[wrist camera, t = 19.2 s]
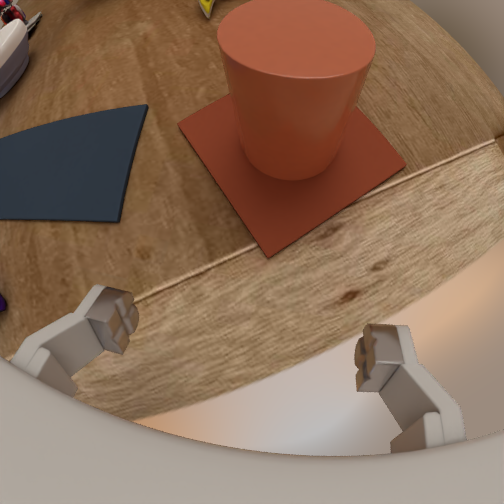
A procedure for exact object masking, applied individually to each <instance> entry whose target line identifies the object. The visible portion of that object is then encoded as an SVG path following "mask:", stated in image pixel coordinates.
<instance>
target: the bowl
mask: <svg viewBox="0 0 504 504" xmlns="http://www.w3.org/2000/svg"><path fill="white" fill-rule="evenodd" d="M28 50H29V43H28V32H27V27H26V26H25V24H24V23H23V22H22V21H21V20H20V19H15V20H13V21H12V22H10V23H8V24H7V25H6V26H4V27H3V28H2V29H1V30H0V98H1V97H3V96H4V95H5V94H6V93H7V92H8V91H9V90H10V89H11V88H12V87H13V86H14V84H15V83H16V82H17V81H18V79H19V78H20V77H21V75H22V74H23V72H24V70H25V68H26V66H27V64H28V61H29V56H28V54H27V53H28Z"/></svg>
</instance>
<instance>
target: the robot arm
mask: <svg viewBox="0 0 504 504" xmlns="http://www.w3.org/2000/svg"><path fill="white" fill-rule="evenodd" d="M133 301H134V297H133V295H132V293H131V292H128V291H124V290H120V289H115V288H111V287H107V286H102V285H98V284H97V285H95V286H93V287H92V289H91V290H90V291H89V293H88V294H87V295H86V297H85V298H84V299H83V301H82V302H81V304H80V305H79V306H78V308H77V309H76V311H75V312H74V313H69V314H67V315H66V316H64V317H62V318H60V319H58V320H57V321H55V322H53V323H51V324H49V325H48V326H46V327H44V328H42V329H41V330H39V331H37V332H35V333H33V334H32V335H30V336H28V337H26V338H25V340H24V341H23V343H22V344H21V346H20V347H19V349H18V350H17V352H16V353H15V355H14V357H13V358H12V360H11V361H10V362H9V361H7V360H6V359H4V358H3V357H1V356H0V504H504V429H503V430H501V431H497V432H494V433H492V434H488V435H485V436H481V437H478V438H474V439H470V440H467V439H466V433H465V427H464V422H463V416H462V411H461V407H460V406H459V405H458V404H457V402H456V401H455V400H454V399H453V398H452V397H451V396H450V395H449V394H448V392H447V391H446V390H445V389H444V388H443V387H442V386H441V384H440V383H439V382H438V381H437V380H436V379H435V378H434V377H433V375H432V374H431V373H430V372H429V371H428V370H427V369H426V368H425V367H424V366H423V365H422V364H418V359H417V355H416V351H415V347H414V344H413V340H412V336H411V332H410V329H409V327H408V326H406V325H387V324H367V325H366V326H365V327H364V329H363V337H361V338H360V339H359V340H358V342H357V344H356V349H355V365H356V366H357V368H358V369H359V371H358V372H357V374H356V385H357V386H356V387H357V392H379V395H380V396H381V398H382V399H383V401H384V402H385V404H386V405H387V407H388V408H389V410H390V412H391V413H392V415H393V416H394V418H395V420H396V421H397V423H398V424H399V426H400V428H401V429H402V431H403V432H402V433H401V434H399V435H398V436H397V437H396V438H394V439H393V440H392V441H391V442H390V444H391V454H380V455H363V456H306V455H290V454H278V453H268V452H260V451H252V450H245V449H238V448H232V447H227V446H221V445H216V444H211V443H206V442H202V441H197V440H193V439H189V438H185V437H181V436H177V435H173V434H169V433H166V432H163V431H159V430H156V429H153V428H150V427H146V426H143V425H140V424H137V423H134V422H132V421H129V420H126V419H123V418H120V417H118V416H115V415H113V414H110V413H107V412H105V411H102V410H100V409H98V408H95V407H93V406H91V405H88V404H86V403H84V402H82V401H79V400H77V399H75V398H73V397H74V395H75V393H76V391H77V389H78V388H77V385H76V384H75V383H74V381H73V380H72V379H71V378H70V377H71V376H73V375H74V374H75V373H76V372H78V371H79V370H80V369H82V368H83V367H84V366H85V365H87V364H88V363H89V362H91V361H92V360H93V359H94V358H96V357H97V356H98V355H100V354H101V353H102V352H103V351H104V350H107V351H111V352H114V353H118V354H122V355H123V353H124V351H125V350H126V348H127V346H128V344H129V342H130V340H129V335H131V334H132V333H134V332H135V330H136V328H137V326H138V321H139V312H138V309H137V307H136V306H135V305H134V304H133Z"/></svg>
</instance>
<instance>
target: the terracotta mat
mask: <svg viewBox="0 0 504 504" xmlns="http://www.w3.org/2000/svg"><path fill="white" fill-rule="evenodd" d="M177 125H178V126H179V128H180V129H181V131H182V132H183V134H184V135H185V137H186V138H187V140H188V141H189V142H190V144H191V145H192V147H193V148H194V150H195V151H196V153H197V154H198V156H199V157H200V159H201V160H202V162H203V163H204V164H205V166H206V167H207V169H208V170H209V172H210V173H211V175H212V176H213V178H214V179H215V181H216V182H217V184H218V185H219V187H220V188H221V190H222V191H223V193H224V194H225V195H226V197H227V198H228V200H229V201H230V203H231V204H232V206H233V207H234V209H235V210H236V212H237V213H238V215H239V216H240V218H241V219H242V221H243V222H244V224H245V225H246V227H247V228H248V230H249V231H250V233H251V234H252V236H253V237H254V239H255V240H256V242H257V243H258V245H259V246H260V248H261V249H262V251H263V252H264V254H265V255H266V257H267V258H270V257H271V256H273V255H274V254H276V253H278V252H279V251H281V250H282V249H284V248H285V247H287V246H288V245H290V244H291V243H293V242H294V241H296V240H297V239H299V238H300V237H302V236H303V235H305V234H306V233H308V232H309V231H311V230H312V229H314V228H315V227H317V226H318V225H320V224H321V223H323V222H324V221H326V220H327V219H329V218H330V217H332V216H333V215H335V214H336V213H338V212H339V211H341V210H342V209H344V208H345V207H347V206H348V205H350V204H351V203H353V202H354V201H356V200H357V199H358V198H360V197H361V196H363V195H364V194H366V193H367V192H369V191H370V190H372V189H373V188H375V187H376V186H378V185H379V184H381V183H382V182H383V181H385V180H386V179H388V178H389V177H391V176H392V175H394V174H395V173H397V172H398V171H400V170H401V169H402V168H404V167H405V166H406V165H407V164H406V163H405V162H404V160H403V159H402V158H401V157H400V155H399V154H398V153H397V152H396V150H395V149H394V148H393V147H392V145H391V144H390V143H389V142H388V141H387V139H386V138H385V137H384V136H383V135H382V134H381V133H380V131H379V130H378V129H377V128H376V127H375V126H374V125H373V124H372V122H371V121H370V120H369V119H368V118H367V117H366V116H365V115H364V114H363V113H362V112H361V111H360V110H359V109H358V107H357V106H356V107H355V110H354V112H353V115H352V117H351V120H350V122H349V125H348V128H347V130H346V133H345V135H344V138H343V140H342V143H341V145H340V148H339V150H338V153H337V155H336V157H335V159H334V161H333V162H332V163H331V165H330V166H329V167H328V168H327V169H326V170H324V171H323V172H321V173H320V174H318V175H316V176H314V177H311V178H308V179H303V180H295V181H294V180H282V179H277V178H274V177H271V176H269V175H266V174H264V173H263V172H261V171H259V170H258V169H257V168H255V167H254V166H253V165H252V164H251V163H250V162H249V160H248V159H247V158H246V156H245V154H244V152H243V150H242V147H241V143H240V138H239V133H238V129H237V124H236V120H235V115H234V111H233V106H232V102H231V97H230V94H228V95H226V96H224V97H222V98H221V99H219V100H217V101H215V102H213V103H211V104H210V105H208V106H206V107H204V108H203V109H201V110H199V111H197V112H196V113H194V114H192V115H190V116H189V117H187V118H185V119H184V120H182V121H181V122H179V123H177Z"/></svg>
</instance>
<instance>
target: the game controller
mask: <svg viewBox="0 0 504 504" xmlns="http://www.w3.org/2000/svg"><path fill="white" fill-rule="evenodd" d="M198 1H199V4H200V7H201V9H202V11H203V13H204V14H205V16H206V17H207V18H210V14H211V10H212V7H213V4H214V1H215V0H198Z"/></svg>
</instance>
